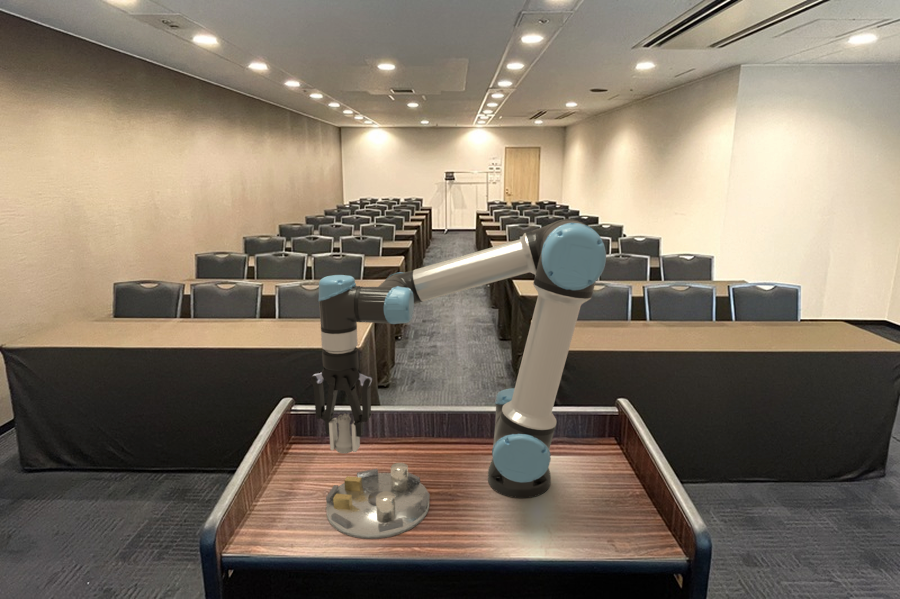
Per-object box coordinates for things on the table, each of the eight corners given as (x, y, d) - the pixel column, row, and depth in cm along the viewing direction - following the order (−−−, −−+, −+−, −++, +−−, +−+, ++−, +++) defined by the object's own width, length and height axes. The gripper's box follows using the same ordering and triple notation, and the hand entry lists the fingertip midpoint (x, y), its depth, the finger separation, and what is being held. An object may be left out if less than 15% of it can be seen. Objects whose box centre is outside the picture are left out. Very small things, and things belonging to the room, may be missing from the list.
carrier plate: (437, 482, 135) (437, 457, 133) (417, 543, 113) (416, 515, 111) (346, 474, 138) (345, 451, 137) (310, 533, 116) (307, 505, 115)
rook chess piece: (351, 455, 121) (349, 421, 119) (331, 453, 122) (330, 419, 120) (358, 445, 125) (357, 412, 123) (339, 443, 126) (338, 410, 124)
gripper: (384, 344, 120) (387, 442, 126) (308, 341, 123) (314, 437, 128) (374, 355, 113) (378, 459, 118) (293, 351, 116) (301, 453, 121)
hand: (345, 447), depth 123 cm, fingers closed on rook chess piece, 4 cm apart
